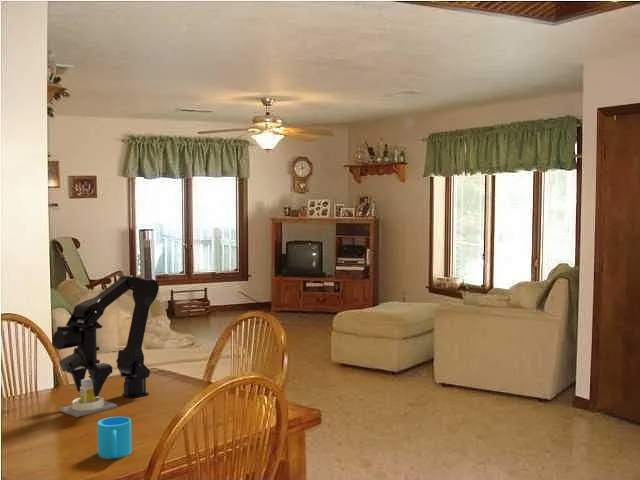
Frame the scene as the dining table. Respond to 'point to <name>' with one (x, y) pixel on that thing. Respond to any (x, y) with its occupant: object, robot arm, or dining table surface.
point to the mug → (114, 437)
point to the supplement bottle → (87, 391)
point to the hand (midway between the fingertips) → (87, 393)
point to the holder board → (80, 413)
